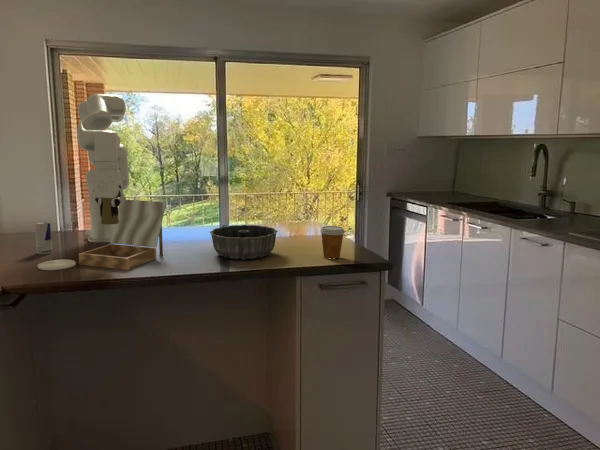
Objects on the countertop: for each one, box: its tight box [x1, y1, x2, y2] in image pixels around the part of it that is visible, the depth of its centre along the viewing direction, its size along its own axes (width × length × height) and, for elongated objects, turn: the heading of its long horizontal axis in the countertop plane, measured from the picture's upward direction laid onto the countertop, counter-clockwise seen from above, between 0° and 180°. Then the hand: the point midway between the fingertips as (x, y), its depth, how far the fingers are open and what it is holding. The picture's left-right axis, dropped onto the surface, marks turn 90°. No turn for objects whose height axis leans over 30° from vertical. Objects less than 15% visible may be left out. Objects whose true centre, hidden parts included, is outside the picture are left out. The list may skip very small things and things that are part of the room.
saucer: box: [37, 259, 76, 271], centre depth 171 cm, size 12×12×1 cm
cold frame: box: [78, 199, 167, 271], centre depth 181 cm, size 20×25×21 cm
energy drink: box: [34, 221, 53, 255], centre depth 189 cm, size 5×5×12 cm
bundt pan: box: [209, 224, 278, 261], centre depth 192 cm, size 26×26×10 cm
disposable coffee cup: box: [320, 225, 345, 260], centre depth 190 cm, size 10×10×12 cm
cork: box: [101, 198, 119, 225], centre depth 175 cm, size 6×6×11 cm
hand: (109, 216), depth 175 cm, fingers closed on cork, 3 cm apart
